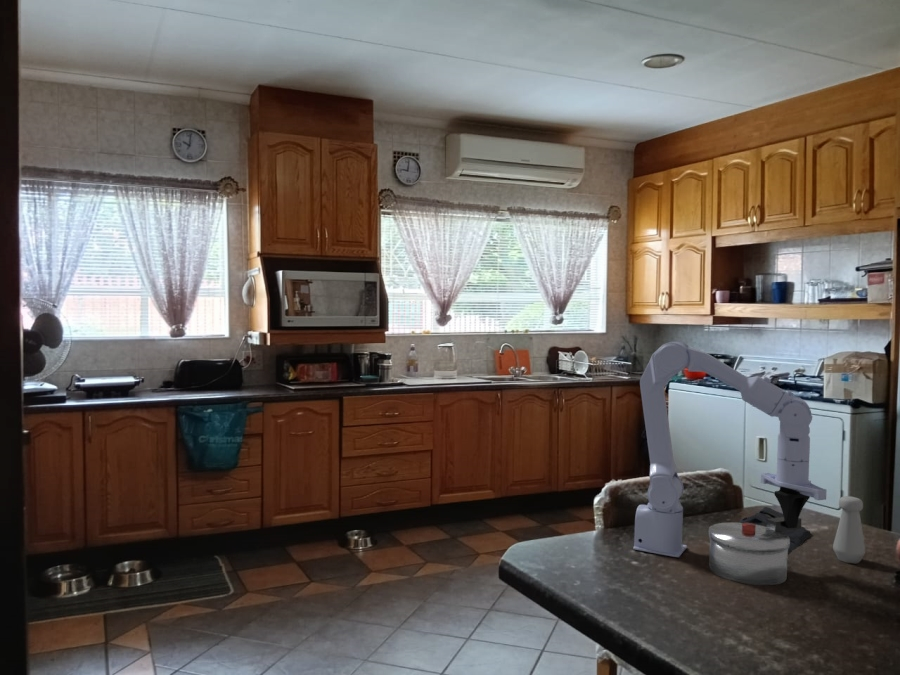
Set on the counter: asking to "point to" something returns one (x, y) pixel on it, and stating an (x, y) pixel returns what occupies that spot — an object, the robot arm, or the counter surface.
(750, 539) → the lid
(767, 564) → the pot
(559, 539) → the counter surface
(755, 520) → the dark slate chunk
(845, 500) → the salt shaker
